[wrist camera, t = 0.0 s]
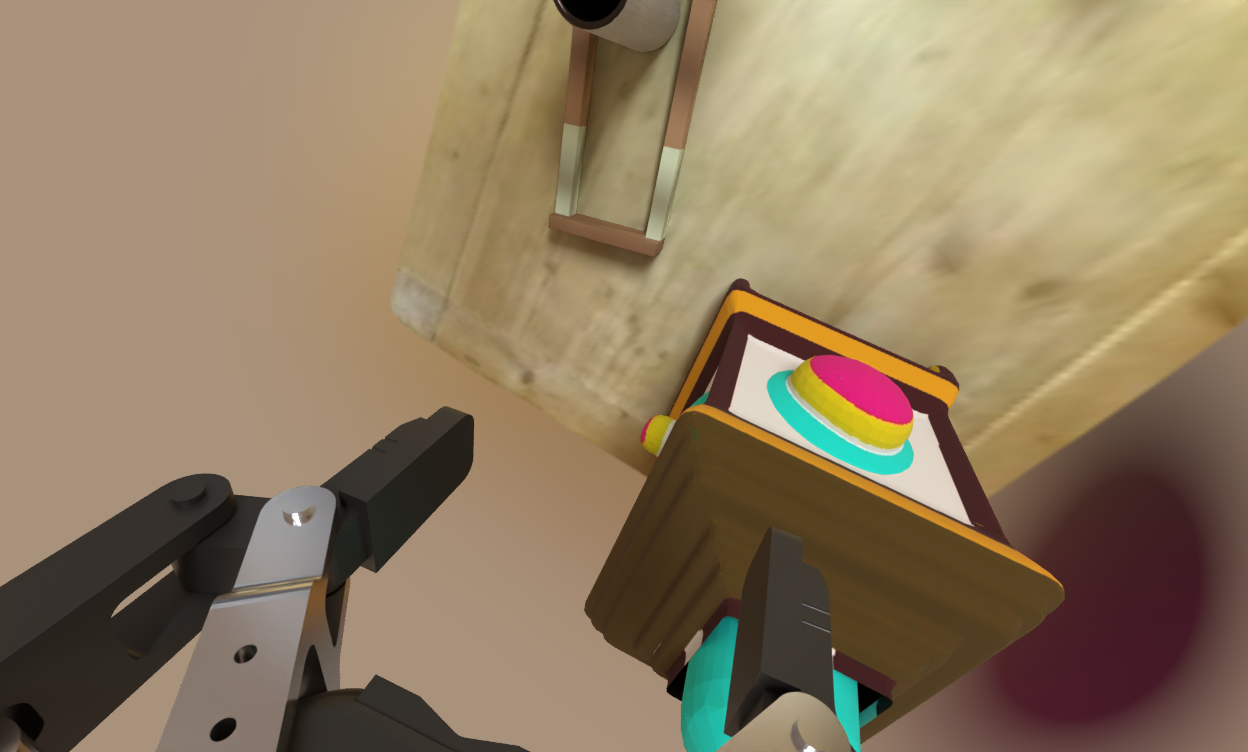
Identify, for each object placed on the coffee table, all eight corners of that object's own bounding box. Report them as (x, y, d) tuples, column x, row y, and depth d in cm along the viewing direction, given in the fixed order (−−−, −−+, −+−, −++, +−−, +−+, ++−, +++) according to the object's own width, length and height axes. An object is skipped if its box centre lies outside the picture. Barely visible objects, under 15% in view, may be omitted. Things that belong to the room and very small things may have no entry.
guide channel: (591, -57, 31) (576, -69, 29) (725, -37, 30) (719, -48, 28) (561, 221, 41) (548, 227, 39) (662, 249, 39) (654, 257, 37)
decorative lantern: (730, 249, 37) (577, 520, 12) (981, 358, 35) (1415, 954, 10) (644, 436, 48) (468, 785, 23) (832, 528, 46) (865, 1023, 21)
